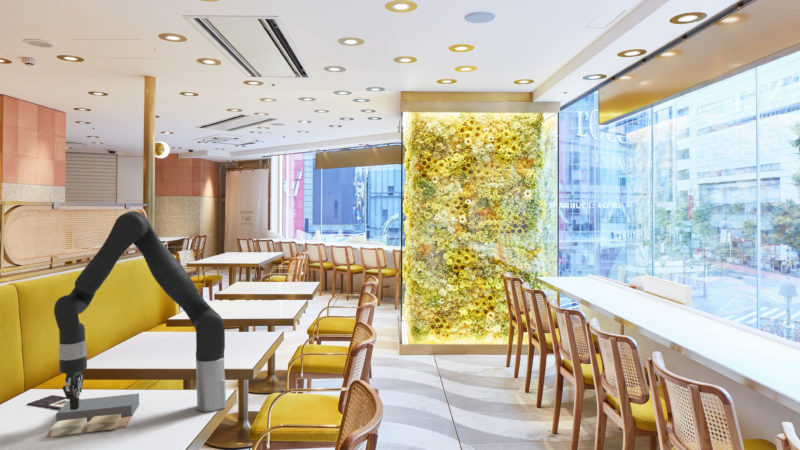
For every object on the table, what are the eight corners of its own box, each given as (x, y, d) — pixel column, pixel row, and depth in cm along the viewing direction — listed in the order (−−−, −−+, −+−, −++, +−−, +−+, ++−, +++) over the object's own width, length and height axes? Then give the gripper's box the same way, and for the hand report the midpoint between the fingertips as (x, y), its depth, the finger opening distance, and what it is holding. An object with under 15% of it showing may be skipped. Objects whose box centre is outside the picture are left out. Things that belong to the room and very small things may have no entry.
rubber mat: (131, 417, 171) (131, 416, 171) (125, 427, 164) (125, 425, 163) (55, 426, 165) (55, 424, 165) (46, 436, 157) (46, 435, 157)
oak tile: (115, 420, 161) (115, 428, 161) (121, 413, 167) (121, 421, 167) (87, 423, 159) (87, 431, 159) (93, 416, 165) (93, 424, 165)
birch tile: (81, 424, 159) (81, 432, 159) (86, 417, 164) (86, 425, 164) (51, 428, 156) (51, 436, 156) (57, 421, 162) (57, 428, 162)
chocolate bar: (51, 395, 193) (86, 400, 187) (52, 397, 193) (86, 402, 187) (27, 403, 185) (62, 409, 179) (27, 406, 185) (62, 412, 179)
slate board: (139, 404, 183) (138, 393, 183) (131, 417, 172) (131, 405, 172) (68, 412, 177) (68, 400, 177) (56, 425, 166) (55, 413, 165)
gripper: (79, 360, 161) (81, 415, 161) (92, 349, 173) (93, 400, 174) (51, 362, 159) (53, 418, 159) (66, 351, 171) (68, 403, 172)
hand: (74, 408), depth 167 cm, fingers closed
